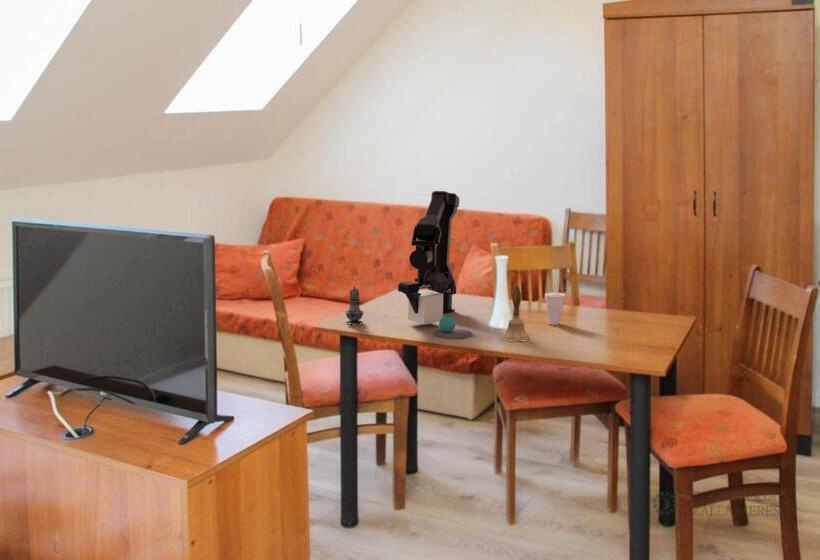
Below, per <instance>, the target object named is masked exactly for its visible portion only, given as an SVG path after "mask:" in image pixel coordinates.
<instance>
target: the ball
mask: <svg viewBox="0 0 820 560" xmlns="http://www.w3.org/2000/svg"><path fill="white" fill-rule="evenodd" d="M438 323H439V324H438V327H439V329H441V330H442V331H443V332H446V333H448V332H451V331H453V330H454V328H455V329H456V320H455V319H454V318H453V317H452V316H450V315H449V316H448V315H446V316H443V318H442V319H441V320H440V322H438Z"/></svg>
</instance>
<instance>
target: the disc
mask: <svg viewBox="0 0 820 560" xmlns="http://www.w3.org/2000/svg"><path fill="white" fill-rule="evenodd" d="M432 334H433V336H435V337H437V338H441V339H445V338H446V339H447V340H464V339H468V338H470V337H473V335H474V333H473V332H472V331H471V330H468V329H464V328H456V327H455V328H454V330H453V331H451V332H448V333H446V332H443V331H442V330H441V329H440V328H439V329H437V330H435V331H433V333H432Z"/></svg>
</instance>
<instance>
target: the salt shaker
mask: <svg viewBox="0 0 820 560" xmlns="http://www.w3.org/2000/svg"><path fill="white" fill-rule="evenodd" d="M348 301H349V308H348V310H346V311H344V313H345V316H346V318H347V319H348V323H351V324H360V323H361V324H360V325H363V324H362V323H363V321H362V320H361V319H362V318H363V314H365V312H364V311H363V310H361V307H360V301H361V299H360V290H359V289H358V288H356V286H355V285H354V286H353V288H352V289H350V291H349V300H348Z"/></svg>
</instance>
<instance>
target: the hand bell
mask: <svg viewBox="0 0 820 560" xmlns="http://www.w3.org/2000/svg"><path fill="white" fill-rule="evenodd" d="M513 287H514V288H513V291H512V294H511V298H512V305H513V314H512V315H513V316H512V317H513V318H512V319H509V320H508V325H507V329H506V331H505V333H504V334H502V336H501V338H503V339H502V340H504V339H507V340H513V341H521V340H527V339H529V338H530V335H529V334H528V333H527V332H526V329H525V324H524V322H525V321H524V320H523V319H521V318H520V304H521V301H522V294H521V290H520V286H519V285H514V286H513ZM507 340H506V341H507ZM529 340H530V339H529ZM513 341H512V342H513ZM527 341H528V340H527Z"/></svg>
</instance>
